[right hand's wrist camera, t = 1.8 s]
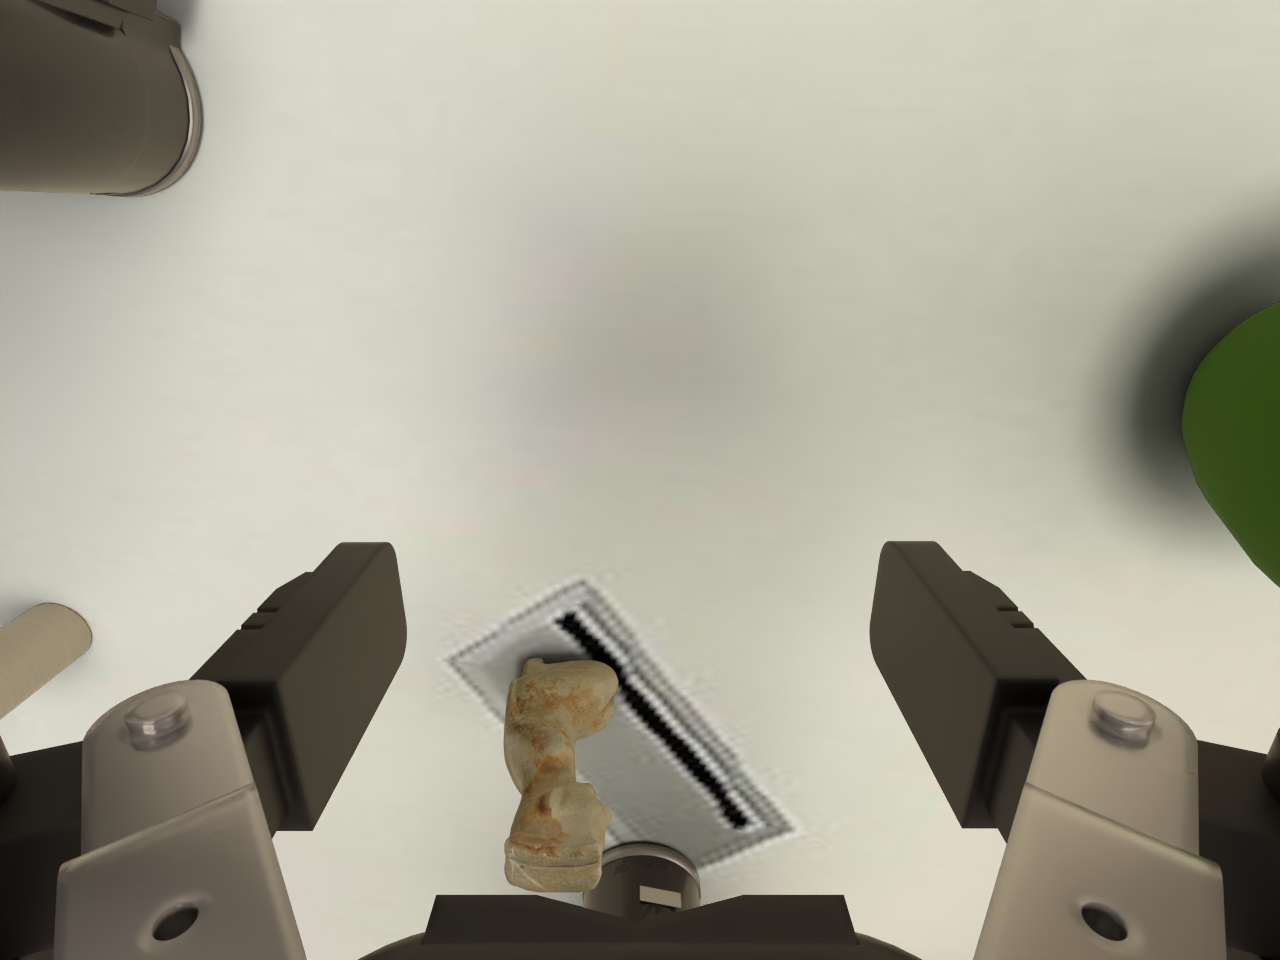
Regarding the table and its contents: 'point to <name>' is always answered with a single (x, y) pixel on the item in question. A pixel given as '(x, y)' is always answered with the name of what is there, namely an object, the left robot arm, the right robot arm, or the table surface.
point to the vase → (1240, 435)
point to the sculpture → (555, 774)
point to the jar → (38, 650)
